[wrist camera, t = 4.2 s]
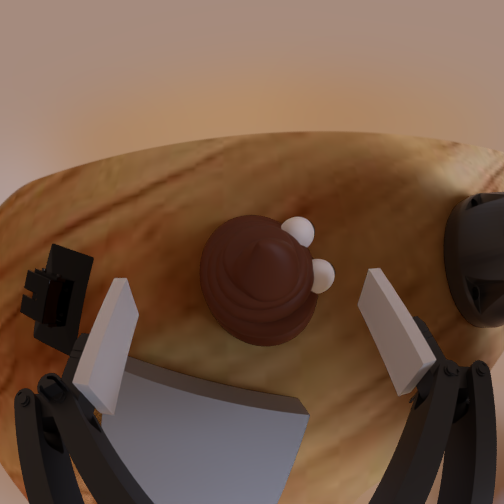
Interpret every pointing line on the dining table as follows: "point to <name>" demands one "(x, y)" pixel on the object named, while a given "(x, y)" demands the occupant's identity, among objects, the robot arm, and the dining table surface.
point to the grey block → (203, 437)
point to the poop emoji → (263, 278)
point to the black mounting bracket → (58, 297)
